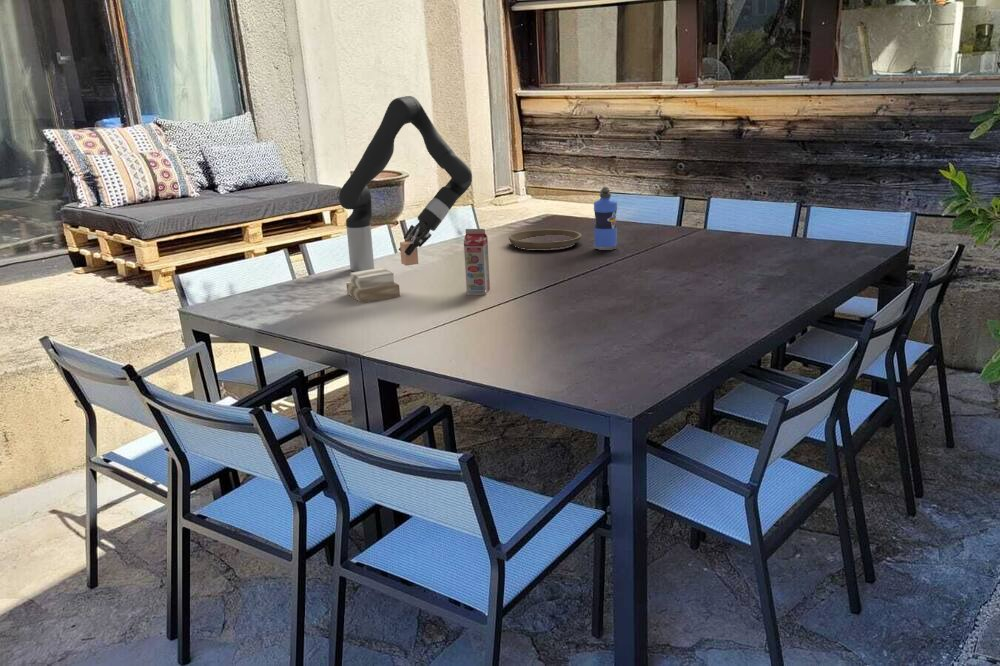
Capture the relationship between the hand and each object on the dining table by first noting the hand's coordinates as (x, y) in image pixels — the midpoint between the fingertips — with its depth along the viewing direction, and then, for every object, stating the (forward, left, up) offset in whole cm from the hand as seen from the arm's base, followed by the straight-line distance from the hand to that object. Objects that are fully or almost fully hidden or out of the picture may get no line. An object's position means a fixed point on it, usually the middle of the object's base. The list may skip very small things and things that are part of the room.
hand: (404, 252), depth 303 cm
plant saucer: (-36, +79, -14) cm, 88 cm away
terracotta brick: (0, +2, -4) cm, 5 cm away
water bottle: (-13, +94, -14) cm, 96 cm away
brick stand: (-1, -12, -13) cm, 18 cm away
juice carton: (+18, +19, -14) cm, 30 cm away
